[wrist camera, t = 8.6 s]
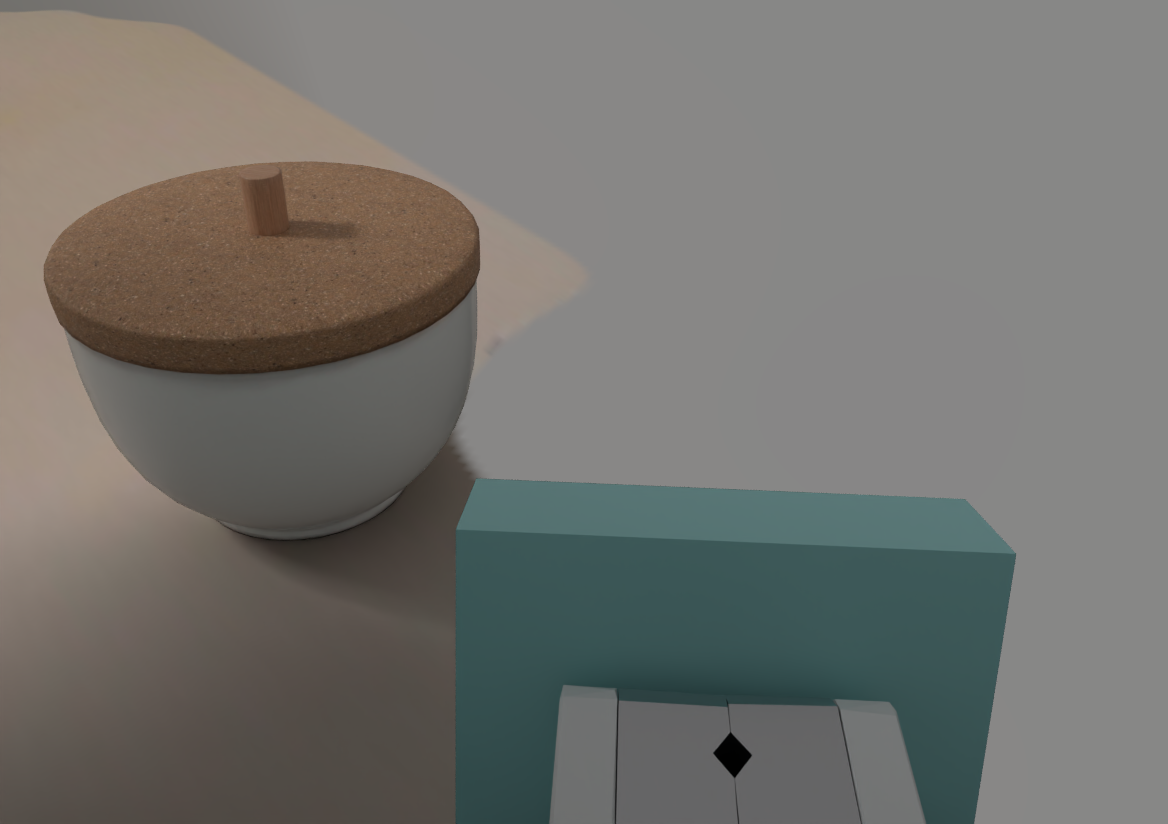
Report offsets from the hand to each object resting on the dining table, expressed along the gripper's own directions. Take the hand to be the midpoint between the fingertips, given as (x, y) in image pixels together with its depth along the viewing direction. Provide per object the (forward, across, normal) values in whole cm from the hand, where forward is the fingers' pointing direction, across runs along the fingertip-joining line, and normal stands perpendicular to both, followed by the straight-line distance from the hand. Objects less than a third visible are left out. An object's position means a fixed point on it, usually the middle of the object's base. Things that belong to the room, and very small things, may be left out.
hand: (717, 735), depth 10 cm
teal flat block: (-1, 0, +6) cm, 6 cm away
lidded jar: (+18, +10, +11) cm, 23 cm away
